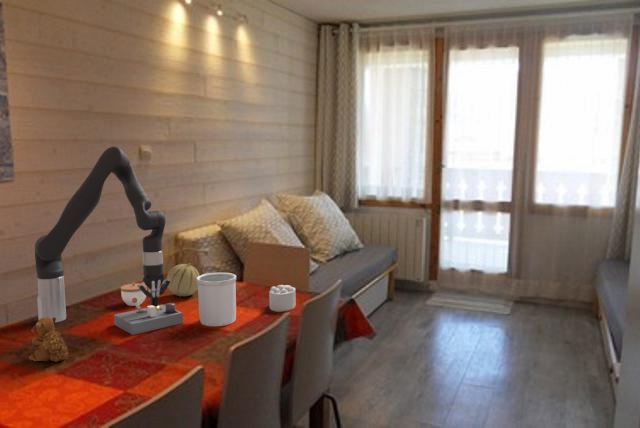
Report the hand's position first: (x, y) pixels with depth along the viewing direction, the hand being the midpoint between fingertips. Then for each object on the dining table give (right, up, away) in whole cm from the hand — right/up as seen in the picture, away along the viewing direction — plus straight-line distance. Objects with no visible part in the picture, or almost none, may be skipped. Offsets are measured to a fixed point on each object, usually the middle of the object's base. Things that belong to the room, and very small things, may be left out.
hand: (155, 306), depth 216 cm
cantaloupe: (+3, -1, +35) cm, 35 cm away
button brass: (0, -3, 0) cm, 3 cm away
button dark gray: (+7, -2, -4) cm, 8 cm away
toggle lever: (-4, -2, -3) cm, 6 cm away
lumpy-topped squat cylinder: (+49, -3, +16) cm, 51 cm away
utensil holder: (+25, -6, -2) cm, 26 cm away
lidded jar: (-16, -3, +23) cm, 28 cm away
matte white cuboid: (+2, -2, -9) cm, 10 cm away
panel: (-1, -6, -5) cm, 8 cm away
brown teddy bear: (-21, -10, -40) cm, 46 cm away
